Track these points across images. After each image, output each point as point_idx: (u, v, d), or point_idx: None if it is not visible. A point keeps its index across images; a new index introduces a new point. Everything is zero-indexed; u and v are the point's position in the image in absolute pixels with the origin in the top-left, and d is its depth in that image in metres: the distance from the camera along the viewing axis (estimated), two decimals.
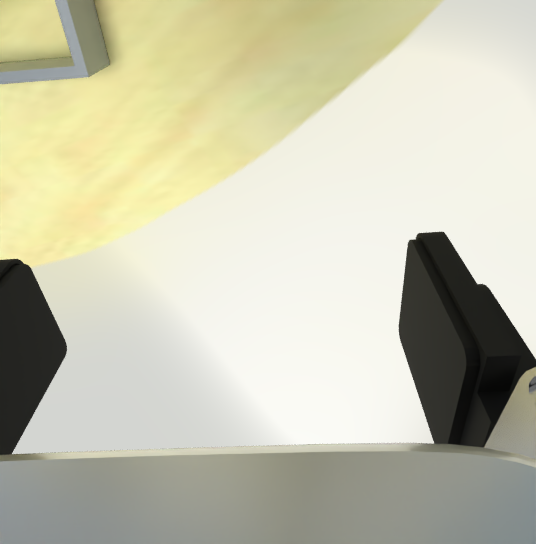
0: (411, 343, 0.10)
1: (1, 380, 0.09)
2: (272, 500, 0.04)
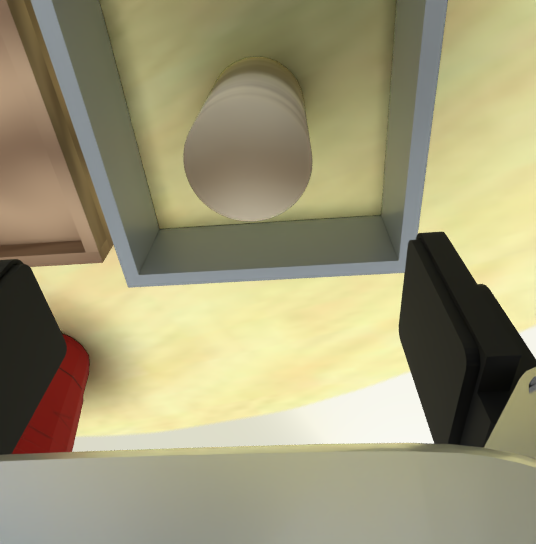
0: (411, 343, 0.10)
1: (1, 380, 0.09)
2: (272, 501, 0.04)
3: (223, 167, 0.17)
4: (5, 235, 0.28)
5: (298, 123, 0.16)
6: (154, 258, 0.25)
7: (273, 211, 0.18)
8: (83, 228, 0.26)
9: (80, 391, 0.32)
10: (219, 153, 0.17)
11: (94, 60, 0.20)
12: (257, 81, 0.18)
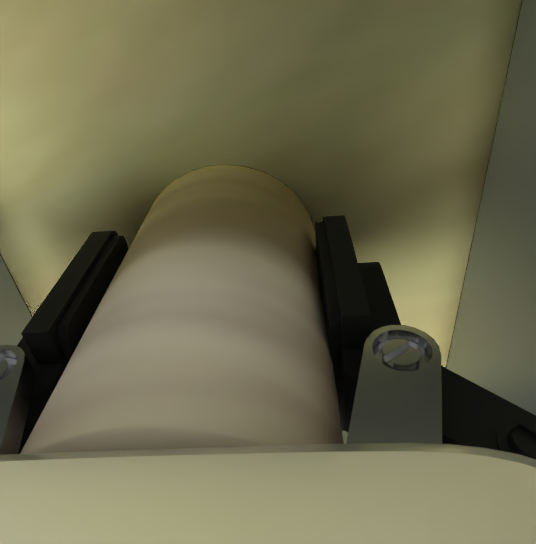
0: None
1: None
2: (272, 501, 0.04)
3: None
4: None
5: None
6: None
7: None
8: None
9: None
10: None
11: None
12: (211, 290, 0.07)
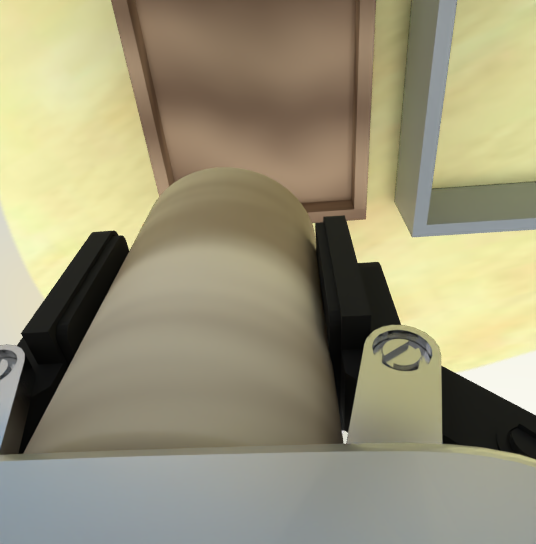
0: None
1: None
2: (272, 499, 0.04)
3: None
4: None
5: None
6: (427, 212, 0.28)
7: None
8: (361, 186, 0.28)
9: None
10: None
11: None
12: (211, 293, 0.07)
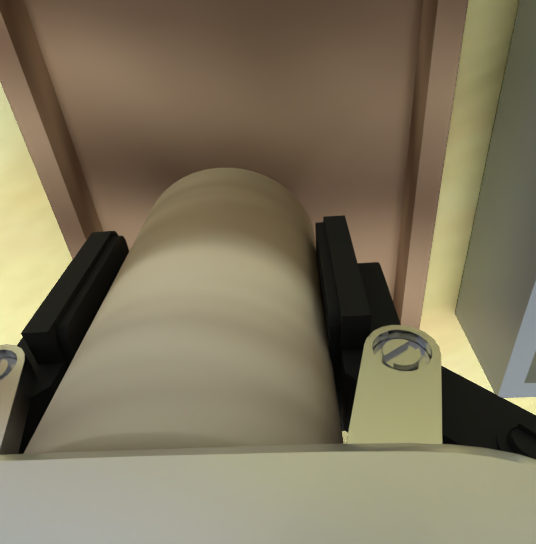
0: None
1: None
2: (272, 501, 0.04)
3: None
4: None
5: None
6: None
7: None
8: (412, 308, 0.18)
9: None
10: None
11: None
12: (211, 294, 0.07)
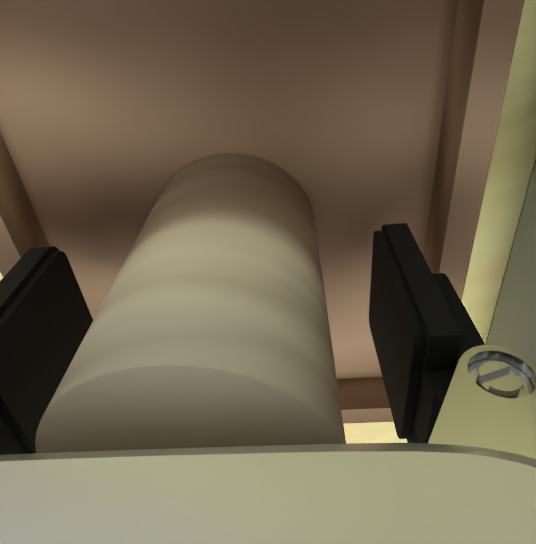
0: (377, 330, 0.11)
1: (43, 361, 0.10)
2: (272, 499, 0.04)
3: None
4: None
5: (317, 409, 0.06)
6: None
7: None
8: None
9: None
10: None
11: None
12: (220, 258, 0.08)
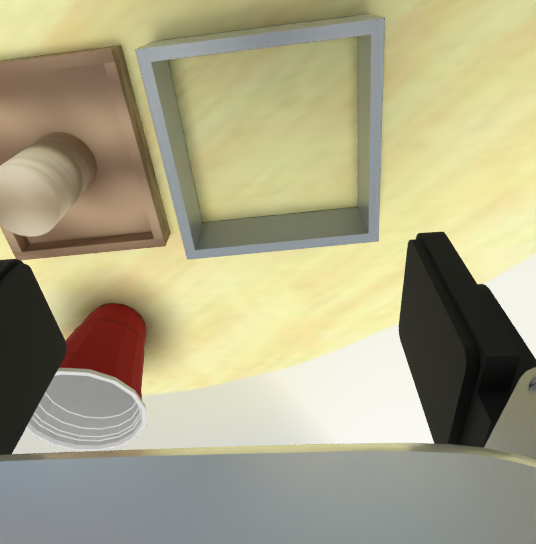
0: (411, 343, 0.10)
1: (1, 380, 0.09)
2: (272, 501, 0.04)
3: (7, 205, 0.29)
4: (95, 230, 0.39)
5: (41, 179, 0.28)
6: (203, 240, 0.37)
7: (44, 229, 0.30)
8: (153, 221, 0.37)
9: (143, 346, 0.43)
10: (1, 197, 0.29)
11: (171, 111, 0.32)
12: (29, 154, 0.30)
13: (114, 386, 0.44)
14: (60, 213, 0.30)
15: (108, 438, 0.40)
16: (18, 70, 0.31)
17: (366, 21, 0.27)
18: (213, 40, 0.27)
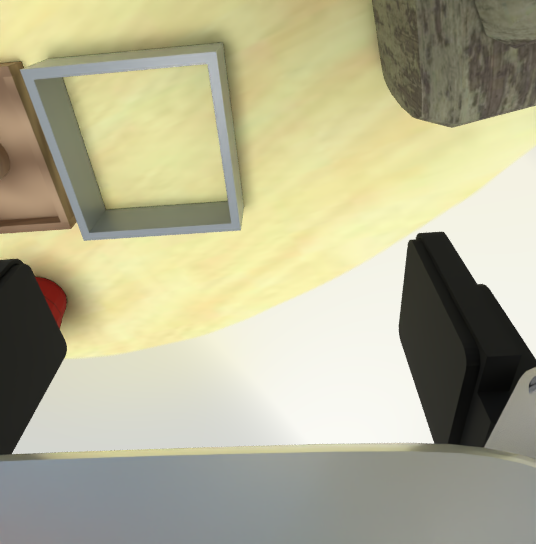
0: (411, 343, 0.10)
1: (1, 380, 0.09)
2: (272, 500, 0.04)
3: None
4: (13, 213, 0.46)
5: None
6: (99, 224, 0.44)
7: None
8: (59, 207, 0.44)
9: (59, 314, 0.51)
10: None
11: (61, 117, 0.39)
12: None
13: None
14: None
15: None
16: None
17: (201, 53, 0.34)
18: (81, 64, 0.34)
